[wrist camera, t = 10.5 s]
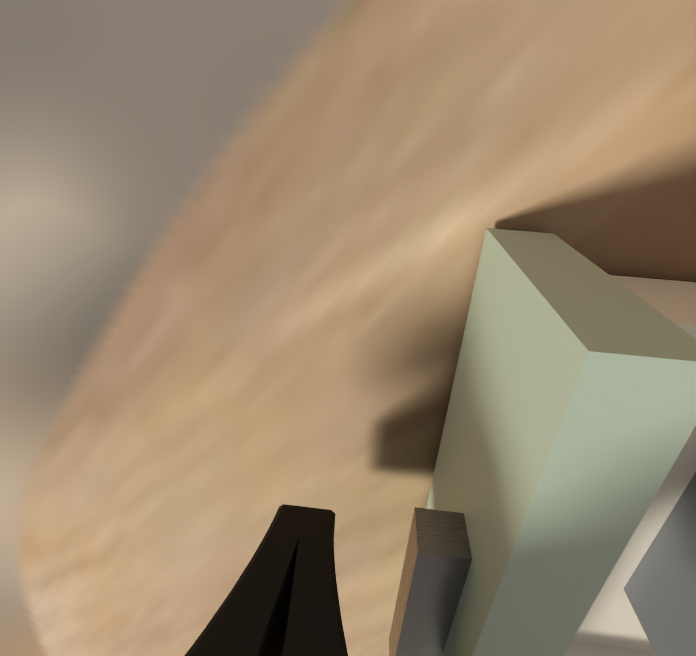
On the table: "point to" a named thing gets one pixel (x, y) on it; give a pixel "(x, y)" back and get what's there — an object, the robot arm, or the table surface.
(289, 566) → the robot arm
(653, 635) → the grey upright block
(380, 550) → the table surface
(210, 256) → the table surface
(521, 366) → the tray
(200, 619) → the table surface
